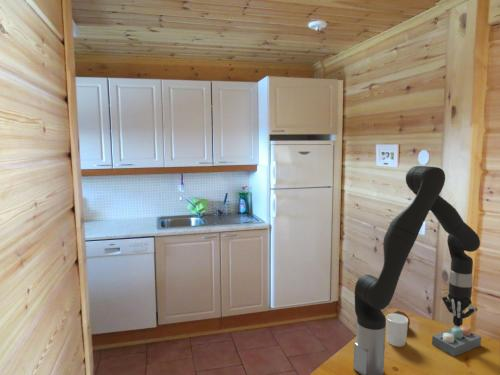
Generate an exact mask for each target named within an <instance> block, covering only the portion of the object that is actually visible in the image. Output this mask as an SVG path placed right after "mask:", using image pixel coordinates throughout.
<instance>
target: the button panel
mask: <svg viewBox="0 0 500 375" xmlns="http://www.w3.org/2000/svg"><path fill="white" fill-rule="evenodd" d="M455 327H456V328H460V327H461V326H459V327H458V326H455ZM451 330H452V328H450V329H447V330H444V331H441V332H439V333H436V334H434V335H432V337H431V338H432V339H431V345H432V346H434V347H436V348H438V349H440V350H441V351H443V352H445V353H447V354H449V355H451V357H456V356H460V355H461V354H463V353H466V352H468V351H470V350H473V349H475V348H478V347H480V346H481V344H482V336H481V335H478V334H476V333H475V332H472V331H471V336H469V337H465V336H463V338H462V339H461V340H459V341H458V340H457V339H455V338H454V343H451V344H449V343H447V342H445V341H443V333H450V334H451Z"/></svg>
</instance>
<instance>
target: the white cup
mask: <svg viewBox="0 0 500 375" xmlns="http://www.w3.org/2000/svg"><path fill="white" fill-rule="evenodd" d="M385 318H386V328H385V329H386V341H387V343H388V344H390V345H391V346H393V347H404V346H405V345H406V344H407V343H406V341H407V336H408V335H407V334H408V328H409V327H408V318H409V317H408V318H407V317H405V316H403V315H401V314H396V313H394V312H391V313H389V314H387V315H386V316H385Z"/></svg>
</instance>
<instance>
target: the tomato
mask: <svg viewBox="0 0 500 375" xmlns="http://www.w3.org/2000/svg"><path fill="white" fill-rule="evenodd" d="M393 313H396V314H401V315H403V316H405V317H407V318H408V328H409V327H410V324H411V322H410V318H409V316H408V315H407V314H406V313H405V312H404V311H400V310H396V311H394V312H393Z"/></svg>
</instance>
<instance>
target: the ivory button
mask: <svg viewBox="0 0 500 375" xmlns="http://www.w3.org/2000/svg"><path fill="white" fill-rule="evenodd" d="M443 341H445V342H447V343H449V344H451V343H454V335H452V334H450V333H443Z"/></svg>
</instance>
